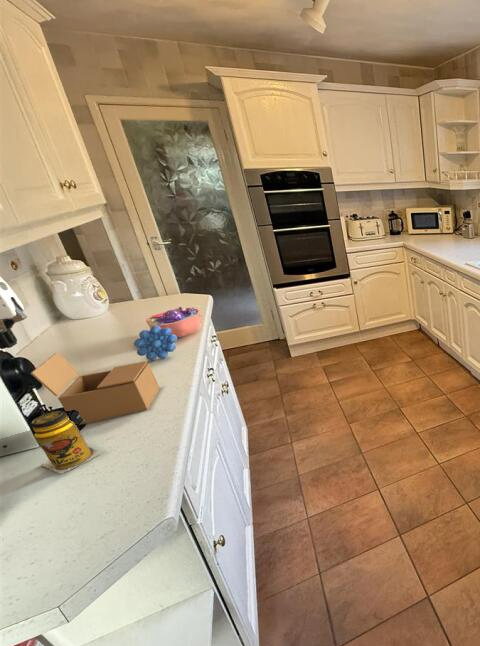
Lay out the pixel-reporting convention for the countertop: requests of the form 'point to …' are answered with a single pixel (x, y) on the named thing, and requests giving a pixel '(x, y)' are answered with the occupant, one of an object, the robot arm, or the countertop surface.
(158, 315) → the cell model
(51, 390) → the flap
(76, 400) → the carton
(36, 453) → the countertop surface
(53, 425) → the condiment
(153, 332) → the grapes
